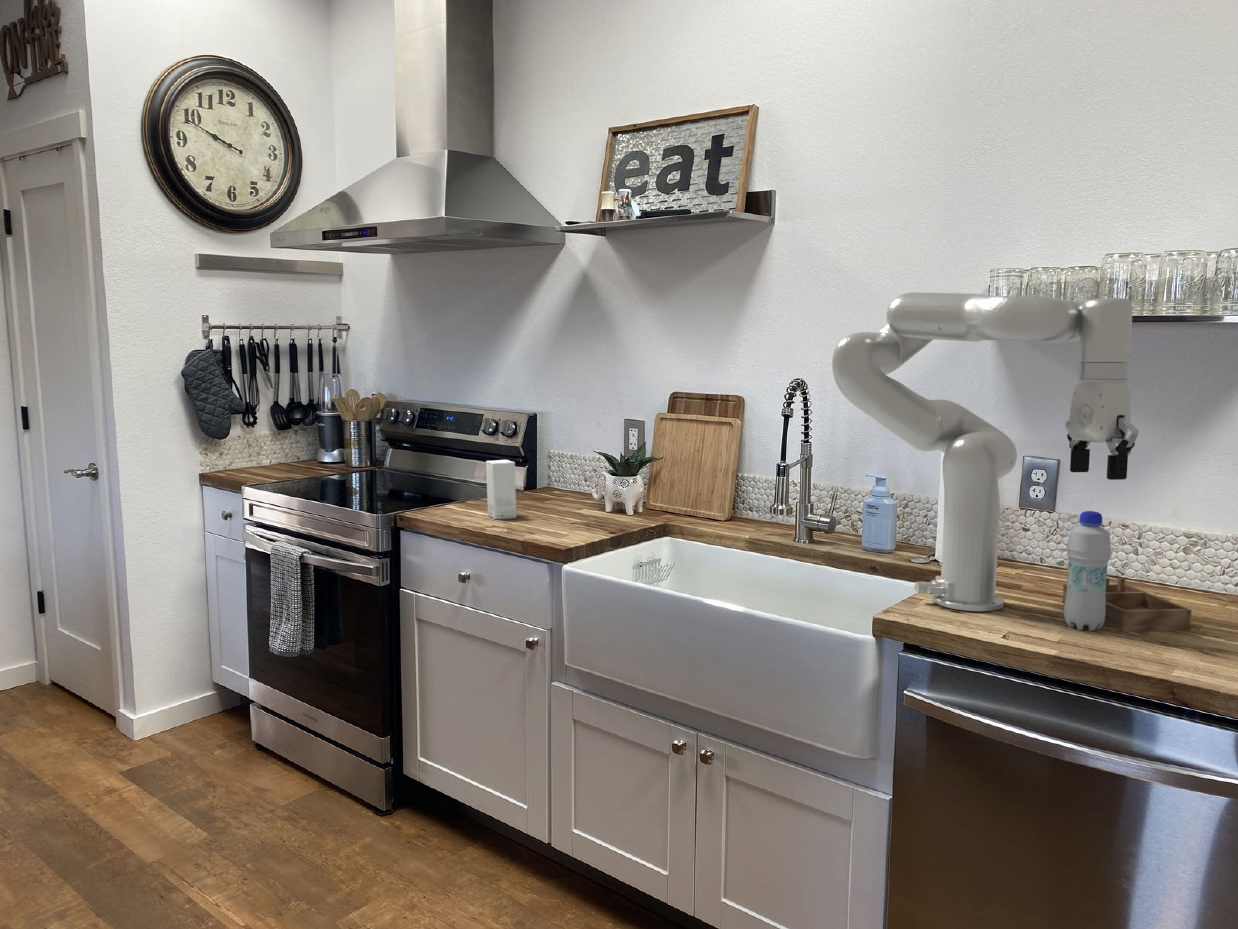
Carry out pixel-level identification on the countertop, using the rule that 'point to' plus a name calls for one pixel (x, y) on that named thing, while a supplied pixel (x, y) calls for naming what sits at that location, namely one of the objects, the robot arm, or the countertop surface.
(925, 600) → the countertop surface
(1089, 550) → the bottle
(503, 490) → the skincare box
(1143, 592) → the tray
